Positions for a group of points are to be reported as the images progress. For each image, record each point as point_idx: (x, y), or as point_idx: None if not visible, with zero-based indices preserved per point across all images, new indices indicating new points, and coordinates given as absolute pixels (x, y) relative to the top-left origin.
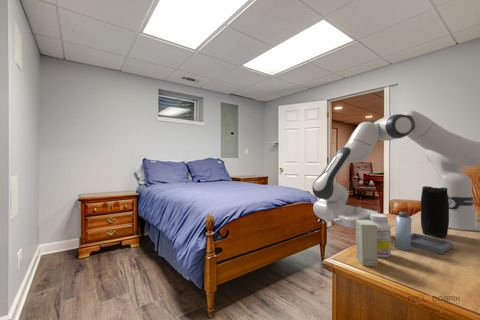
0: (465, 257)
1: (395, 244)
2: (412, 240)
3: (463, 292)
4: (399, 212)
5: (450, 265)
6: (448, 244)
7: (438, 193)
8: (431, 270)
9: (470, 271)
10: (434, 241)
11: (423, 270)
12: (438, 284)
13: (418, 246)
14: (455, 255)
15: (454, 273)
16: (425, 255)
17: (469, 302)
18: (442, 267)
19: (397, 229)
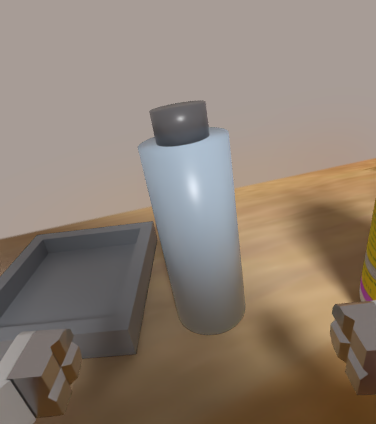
0: (121, 221)
1: (233, 314)
2: (127, 283)
3: (340, 172)
4: (199, 105)
5: None
6: (77, 231)
7: None
8: (311, 208)
9: None
10: (25, 277)
11: (336, 211)
12: (366, 185)
13: (147, 276)
14: None
15: (267, 196)
16: None
17: (364, 163)
18: (258, 210)
19: (233, 221)
